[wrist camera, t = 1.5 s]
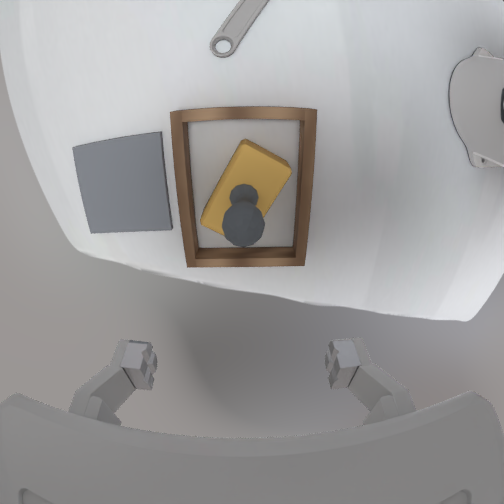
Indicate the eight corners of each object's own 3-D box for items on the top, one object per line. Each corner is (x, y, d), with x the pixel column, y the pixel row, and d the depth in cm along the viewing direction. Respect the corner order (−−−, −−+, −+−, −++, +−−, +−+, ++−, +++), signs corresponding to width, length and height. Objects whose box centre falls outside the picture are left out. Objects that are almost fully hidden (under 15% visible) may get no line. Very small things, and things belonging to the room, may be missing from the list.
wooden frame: (311, 108, 26) (317, 109, 24) (301, 254, 36) (304, 265, 33) (176, 110, 26) (170, 112, 24) (190, 256, 35) (187, 267, 33)
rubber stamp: (243, 137, 28) (240, 161, 18) (288, 162, 29) (312, 201, 19) (203, 210, 32) (183, 269, 22) (245, 231, 34) (245, 296, 24)
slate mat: (161, 131, 27) (160, 132, 26) (172, 227, 33) (171, 230, 33) (75, 146, 27) (72, 147, 26) (92, 231, 33) (90, 233, 33)
